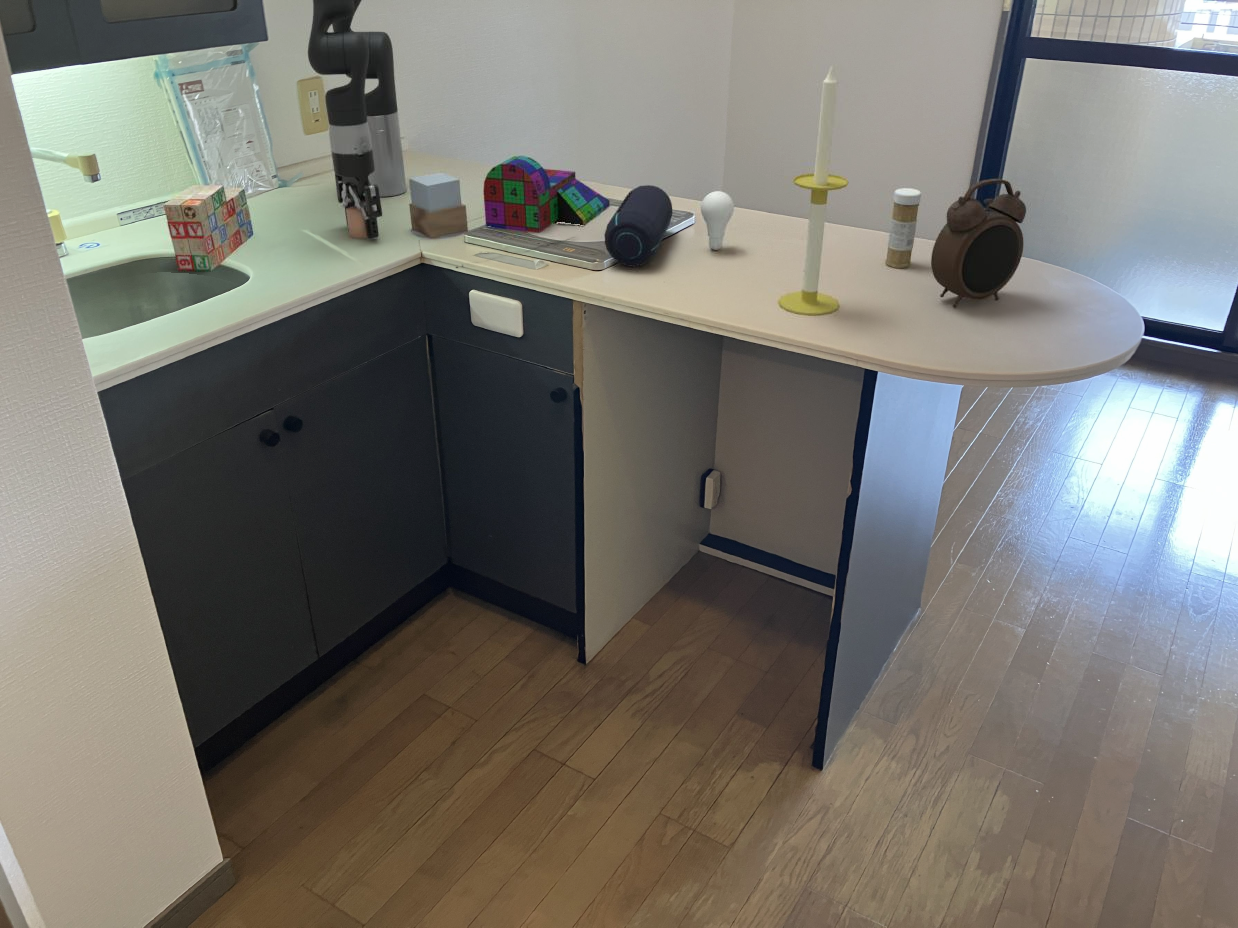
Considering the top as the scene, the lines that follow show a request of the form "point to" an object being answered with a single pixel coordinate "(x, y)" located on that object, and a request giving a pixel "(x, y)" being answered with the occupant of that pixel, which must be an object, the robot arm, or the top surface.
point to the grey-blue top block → (435, 192)
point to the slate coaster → (437, 237)
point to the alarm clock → (979, 244)
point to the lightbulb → (717, 216)
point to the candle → (817, 212)
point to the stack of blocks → (207, 225)
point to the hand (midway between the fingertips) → (363, 232)
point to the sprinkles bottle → (903, 227)
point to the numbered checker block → (537, 197)
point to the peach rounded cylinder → (356, 222)
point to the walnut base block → (439, 221)
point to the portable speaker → (638, 225)
